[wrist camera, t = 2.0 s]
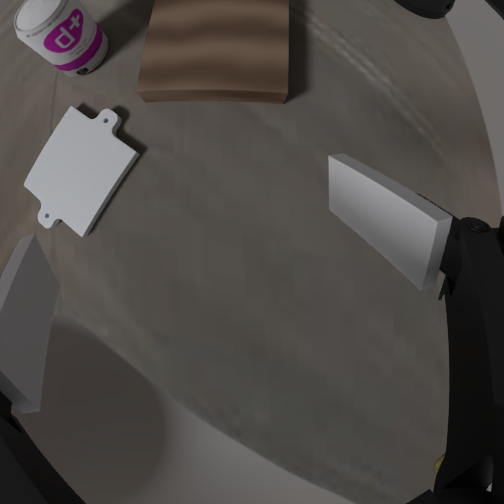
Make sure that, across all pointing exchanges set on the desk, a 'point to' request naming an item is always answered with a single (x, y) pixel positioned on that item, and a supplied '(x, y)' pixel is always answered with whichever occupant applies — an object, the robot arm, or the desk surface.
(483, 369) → the robot arm
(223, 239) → the desk surface
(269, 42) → the walnut riser
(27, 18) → the supplement can
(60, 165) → the mounting plate
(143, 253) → the desk surface
